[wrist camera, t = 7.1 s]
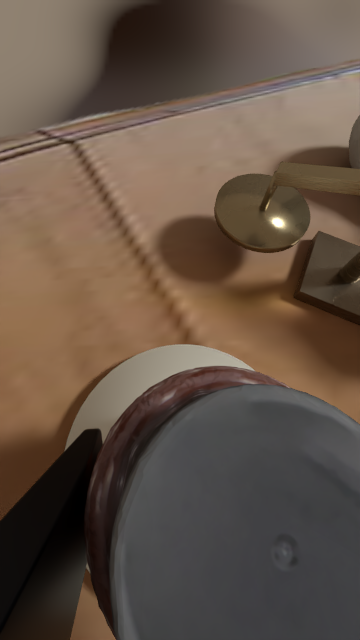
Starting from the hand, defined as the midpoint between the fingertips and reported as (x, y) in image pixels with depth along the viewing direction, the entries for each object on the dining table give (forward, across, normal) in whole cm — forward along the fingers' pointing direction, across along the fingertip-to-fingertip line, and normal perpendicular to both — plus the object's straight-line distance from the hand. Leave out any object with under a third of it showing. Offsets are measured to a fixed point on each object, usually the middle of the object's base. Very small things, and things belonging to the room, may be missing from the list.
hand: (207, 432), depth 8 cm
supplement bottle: (+4, 0, +6) cm, 7 cm away
